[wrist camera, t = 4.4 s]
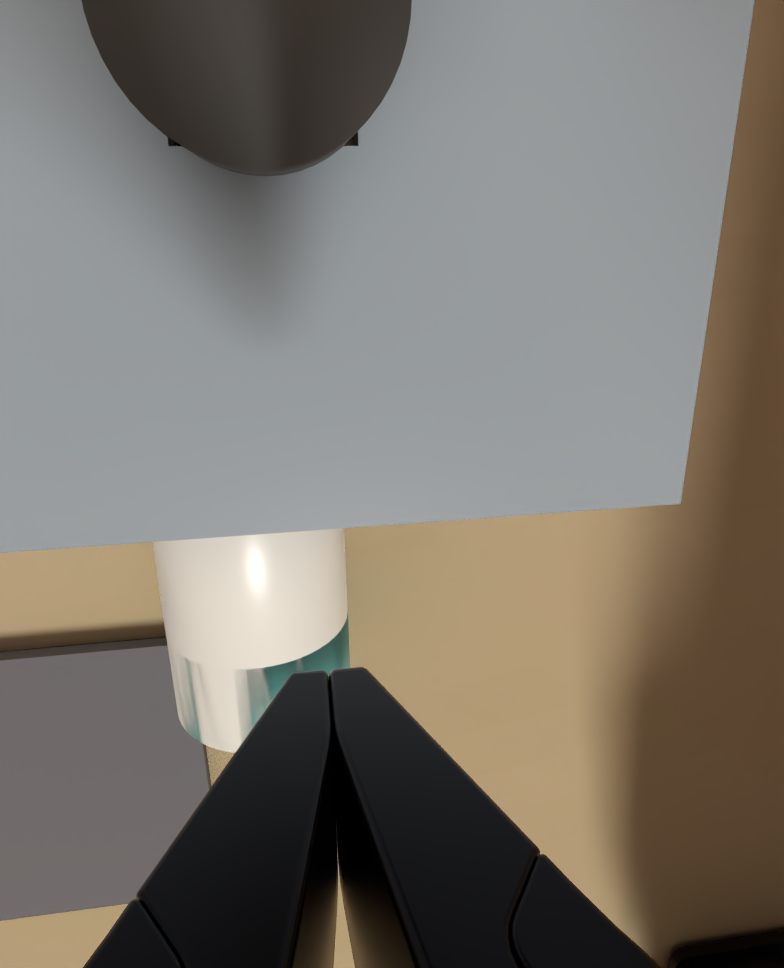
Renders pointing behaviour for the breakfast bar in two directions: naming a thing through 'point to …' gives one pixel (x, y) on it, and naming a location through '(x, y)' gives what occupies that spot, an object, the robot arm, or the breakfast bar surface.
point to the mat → (90, 774)
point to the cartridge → (249, 623)
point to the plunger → (253, 72)
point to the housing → (366, 283)
